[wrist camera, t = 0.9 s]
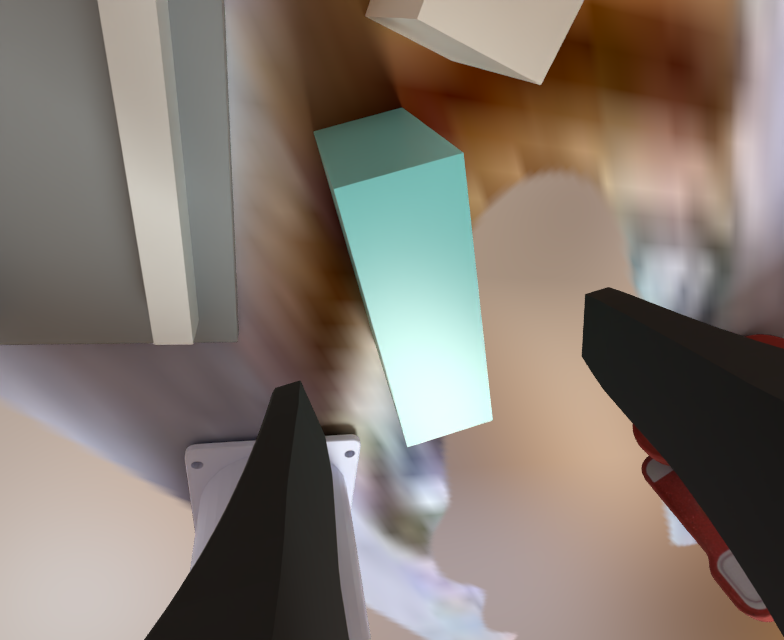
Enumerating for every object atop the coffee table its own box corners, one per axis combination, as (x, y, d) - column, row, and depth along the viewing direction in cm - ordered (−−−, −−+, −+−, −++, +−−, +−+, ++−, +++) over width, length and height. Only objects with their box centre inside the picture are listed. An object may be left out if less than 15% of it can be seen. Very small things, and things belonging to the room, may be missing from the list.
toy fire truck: (811, 360, 28) (1042, 510, 20) (636, 474, 31) (773, 647, 23) (790, 295, 24) (1065, 446, 16) (594, 431, 27) (739, 619, 19)
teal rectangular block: (439, 322, 20) (492, 420, 15) (374, 341, 20) (407, 447, 15) (401, 107, 15) (463, 152, 10) (313, 130, 15) (333, 189, 10)
